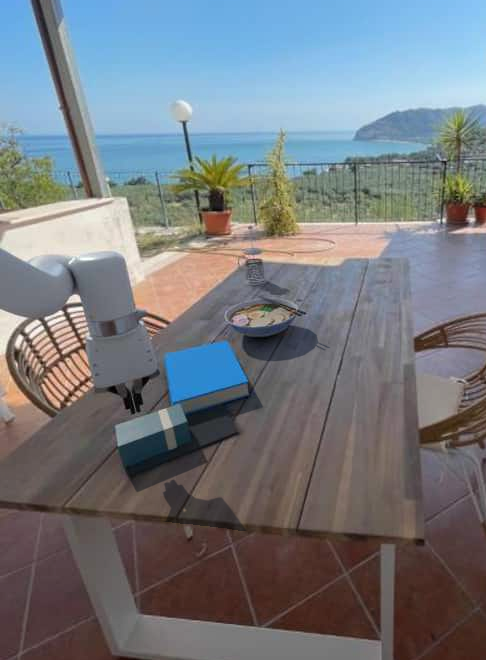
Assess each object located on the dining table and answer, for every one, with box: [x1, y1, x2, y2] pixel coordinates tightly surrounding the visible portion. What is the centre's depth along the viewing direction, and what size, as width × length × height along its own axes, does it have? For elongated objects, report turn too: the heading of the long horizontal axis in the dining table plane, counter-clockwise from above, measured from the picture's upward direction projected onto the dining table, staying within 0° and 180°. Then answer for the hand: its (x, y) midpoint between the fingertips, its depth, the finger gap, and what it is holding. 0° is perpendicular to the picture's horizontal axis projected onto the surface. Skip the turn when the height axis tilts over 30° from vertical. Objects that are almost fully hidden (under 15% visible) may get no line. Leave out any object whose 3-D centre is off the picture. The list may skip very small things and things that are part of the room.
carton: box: [114, 404, 191, 468], centre depth 77 cm, size 5×7×12 cm
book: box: [163, 340, 251, 415], centre depth 99 cm, size 17×4×25 cm
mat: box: [128, 403, 239, 477], centre depth 81 cm, size 20×12×1 cm, turn 125°
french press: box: [237, 225, 268, 286], centre depth 169 cm, size 10×12×25 cm
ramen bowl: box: [224, 294, 307, 338], centre depth 125 cm, size 25×23×8 cm
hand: (135, 409), depth 74 cm, fingers closed
